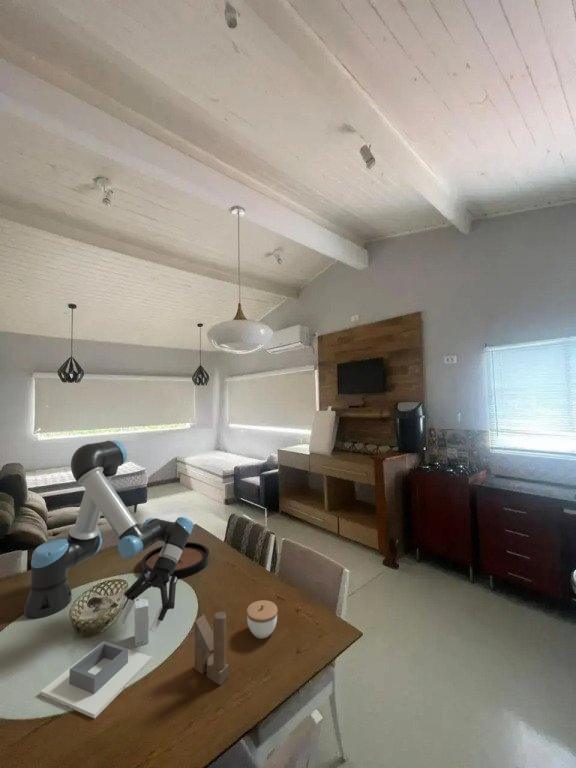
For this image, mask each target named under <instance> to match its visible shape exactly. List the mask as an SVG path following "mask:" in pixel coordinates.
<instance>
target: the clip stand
mask: <svg viewBox="0 0 576 768" xmlns="http://www.w3.org/2000/svg"><path fill="white" fill-rule="evenodd" d="M152 660H153V656H151V655H148V654H144V653H141V652H139V651H135V650H133V649H132V650H131V649H130V648H127V647H124V646H122V645H121V646H120V645H117V644H114V643H111V642H108V641H106V640H105V641H104V640H103V641H101V642H100V643H99V644H98V645H97V646H96V647H94V648H93V649H92V650H90V651H89V652H88V653H87V654H85V655H84V656H83V657H82V658H80V659H79V660H78V661H76V663H74V664H73V665H72V666H70V667H68V669H67V670H65V671H64V672H63V673H62V674H60V675H59V676H58V677H56V678H55V679H53V681H51V682H50V683H48V684H47V685H46V686H45V687H44V688H43V689H41V690H40V696H43V697H45V698H47V699H48V700H49V699H50V700H51V701H54V702H56V703H58V704H60V703H61V705H63V706H65V705H67V706H69V707H72V708H73V709H72V708H71V709H72V710H74V709H75V710H74V711H76V712H79V713H80V714H83V715H86V716H88V717H90V718H93V719H94V720H95V719H96V718H97V717H98V716H99V715H100V714H101V713H102V712H103V711H104V710H105V709H106V708H107V707H108V706H109V705H110V704H111V702H112V701H113V700H115V699H116V698H117V696H119V694H121V692H123V690H124V689H125V688H126V687H127V686H128V685H129V684H130V683H132V681H133V680H134V679H135V678H136V677H137V676H138V675H140V673H142V671H143V670H144V669H145V668H146V667H147V666H148V665H149V664H150V663H151V662H152ZM126 685H127V686H126ZM125 686H126V687H125ZM124 687H125V688H124ZM123 688H124V689H123ZM67 706H66V707H67ZM69 707H68V708H69Z"/></svg>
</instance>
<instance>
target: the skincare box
mask: <svg viewBox="0 0 576 768" xmlns="http://www.w3.org/2000/svg"><path fill="white" fill-rule="evenodd" d="M148 599H149V598H148V596H145V597H141V598H135V599H134V646H135V647H138V646H139V647H140V646H143V645H146V644H149V643H150V642H149V640H150V639H149V633H150V628H149V625H150V623H149V601H148Z"/></svg>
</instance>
